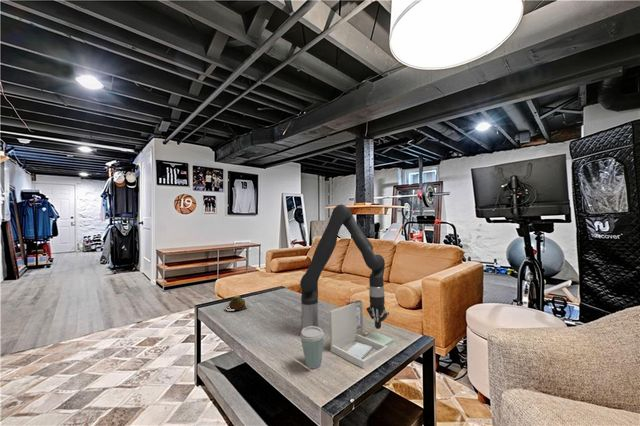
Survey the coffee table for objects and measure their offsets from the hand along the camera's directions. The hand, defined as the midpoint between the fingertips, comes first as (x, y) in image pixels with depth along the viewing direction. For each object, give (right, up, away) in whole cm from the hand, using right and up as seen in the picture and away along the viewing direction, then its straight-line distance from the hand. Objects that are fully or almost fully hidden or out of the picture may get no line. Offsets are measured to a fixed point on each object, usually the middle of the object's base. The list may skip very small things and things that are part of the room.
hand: (378, 328), depth 134 cm
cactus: (-90, -10, +55) cm, 106 cm away
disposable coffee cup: (-33, -8, -20) cm, 39 cm away
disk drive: (-9, -7, +17) cm, 21 cm away
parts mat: (0, -7, 0) cm, 7 cm away
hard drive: (-15, -6, -16) cm, 23 cm away
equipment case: (-11, -7, -10) cm, 17 cm away
